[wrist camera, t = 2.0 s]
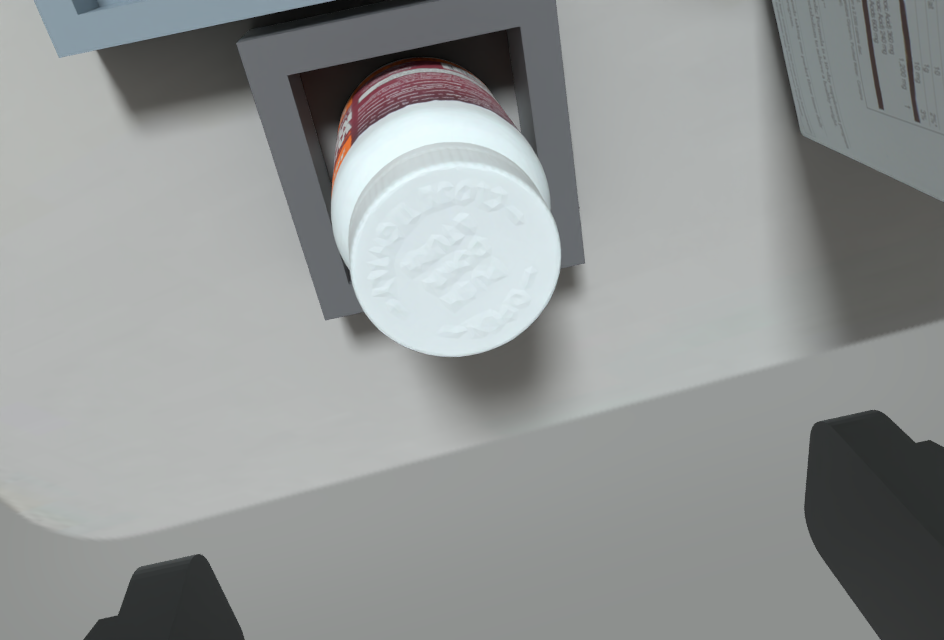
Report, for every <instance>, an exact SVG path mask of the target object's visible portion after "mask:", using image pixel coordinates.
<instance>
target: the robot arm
mask: <svg viewBox="0 0 944 640" xmlns="http://www.w3.org/2000/svg"><path fill="white" fill-rule="evenodd" d="M804 510H805V518H806V523H807V527H808V530H809V533H810V536H811V538H812V541H813V543H814V545H815V547H816V549H817V551H818V552H819V554H820V555H821V557H822V558H823V560H824V561H825V563H826V564H827V565H828V567H829V568H830V570H831V571H832V572H833V574H834V575H835V577H836V578H837V579H838V581H839V582H840V584H841V585H842V586H843V588H844V589H845V590H846V592H847V593H848V595H849V596H850V598H851V599H852V600H853V602H854V603H855V604H856V606H857V607H858V609H859V610H860V611H861V613H862V614H863V616H864V617H865V618H866V620H867V621H868V623H869V624H870V625H871V627H872V628H873V630H874V631H875V632H876V634H877V635H878V637H879V638H880V639H881V640H944V447H942V446H940V445H938V444H937V443H934V442H932V441H931V440H928V441H923V442H918V443H915V442H914V441H913V440H912V439H911V438H910V437H909V436H908V435H907V434H905V433H904V432H903V431H902V430H901V429H900V428H899V427H898V426H897V425H896V424H895V423H894V422H893V421H892V420H891V419H890V418H889V417H888V416H886V415H885V414H884V413H882V412H880V411H876V410H870V411H865V412H861V413H856V414H852V415H847V416H842V417H838V418H833V419H828V420H824V421H820V422H817V423H815V424H814V426H813V427H812V430H811V434H810V444H809V456H808V469H807V480H806V492H805V506H804ZM84 640H245V639H244V636H243V632H242V630H241V627H240V625H239V623H238V621H237V619H236V617H235V615H234V613H233V611H232V609H231V607H230V605H229V603H228V601H227V599H226V597H225V595H224V593H223V590H222V589H221V586H220V584H219V582H218V580H217V578H216V576H215V574H214V572H213V570H212V568H211V566H210V564H209V562H208V561H207V559H206V558H205V557H204V556H203V555H200V554H197V555H192V556H187V557H183V558H179V559H174V560H169V561H165V562H160V563H155V564H151V565H146V566H141V567H139V568H138V569H137V570H136V571H135V572H134V574H133V576H132V578H131V580H130V583H129V586H128V588H127V592H126V594H125V597H124V600H123V603H122V606H121V609H120V611H119V614H118V616H114V617H109V618H104V619H100V620H98V622H97V623H96V624H95V625H94V627H93V628H92V629H91V631H90V632H89V633H88V635H87V636H86V637H85V638H84Z"/></svg>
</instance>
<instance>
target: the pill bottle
mask: <svg viewBox="0 0 944 640" xmlns="http://www.w3.org/2000/svg"><path fill="white" fill-rule="evenodd" d="M331 221H332V228H333V234H334V238H335V241H336V244H337V247H338V250H339V252H340V254H341V256H342V258H343V260H344V262H345V264H346V266H347V267H348V269H349V270H350V275H351V281H352V285H353V288H354V291H355V294H356V297H357V299H358V301H359V303H360V305H361V307H362V309H363V311H364V312H365V314H366V315H367V317H368V318H369V319H370V320H371V322H372V323H373V324H374V325H375V326H376V327H377V328H378V329H379V330H380V331H381V332H382V333H383V334H385V335H386V336H388V337H389V338H390V339H392V340H393V341H395V342H396V343H398V344H400V345H402V346H404V347H406V348H409V349H411V350H414V351H417V352H420V353H423V354H428V355H433V356H441V357H462V356H469V355H475V354H479V353H483V352H486V351H489V350H492V349H495V348H497V347H499V346H502V345H504V344H505V343H507V342H509V341H511V340H512V339H514V338H515V337H517V336H518V335H520V334H521V333H522V332H523V331H524V330H526V329H527V328H528V327H529V326H530V325H531V324H532V323H533V322H534V321H535V320H536V319H537V318H538V316H539V315H540V314H541V312H542V311H543V310H544V308H545V307H546V305H547V304H548V302H549V300H550V298H551V296H552V294H553V292H554V290H555V287H556V284H557V281H558V277H559V274H560V266H561V242H560V238H559V232H558V229H557V225H556V222H555V220H554V218H553V215H552V213H551V204H550V192H549V187H548V183H547V179H546V176H545V173H544V170H543V168H542V165H541V163H540V161H539V159H538V157H537V155H536V154H535V152H534V150H533V149H532V147H531V145H530V144H529V142H528V141H527V139H526V138H525V137H524V136H523V135H522V134H521V133H520V131H519V130H518V129H517V128H516V126H515V125H514V124H513V122H512V121H511V120H510V118H509V117H508V115H507V114H506V113H505V111H504V110H503V109H502V107H501V105H500V104H499V103H498V102H497V100H496V99H495V97H494V96H493V94H492V93H491V92H490V91H489V89H488V88H487V87H486V86H485V85H484V84H483V83H482V82H481V81H480V80H479V79H478V78H477V77H476V76H475V75H474V74H472V73H471V72H469V71H468V70H467V69H465V68H463V67H461V66H459V65H457V64H455V63H453V62H450V61H447V60H443V59H439V58H433V57H410V58H403V59H400V60H396V61H393V62H391V63H388V64H386V65H384V66H382V67H380V68H378V69H377V70H375V71H373V72H372V73H371V74H370V75H368V76H367V77H366V78H365V79H364V80H363V81H362V82H361V83H360V84H359V85H358V86H357V88H356V89H355V90H354V92H353V93H352V94H351V96H350V98H349V99H348V101H347V103H346V105H345V107H344V110H343V112H342V115H341V119H340V123H339V128H338V134H337V141H336V149H335V159H334V170H333V179H332V193H331Z"/></svg>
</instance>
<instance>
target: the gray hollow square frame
mask: <svg viewBox="0 0 944 640" xmlns="http://www.w3.org/2000/svg"><path fill="white" fill-rule="evenodd" d="M505 29H506V30H507V37H508V44H509V51H510V58H511V65H512V72H513V78H514V85H515V92H516V99H517V106H518V113H519V120H520V127H521V133H522V135H523V136H524V137H525V138H526V139H527V141H528V142H529V144H530V145H531V147H532V149H533V150H534V152H535V154H536V155H537V157H538V159H539V161H540V163H541V165H542V168H543V170H544V173H545V176H546V179H547V183H548V187H549V192H550V204H551V213H552V215H553V218H554V220H555V222H556V225H557V229H558V232H559V238H560V242H561V266H560V269H561V268H566V267H570V266H575V265H579V264H584V263H585V258H584V249H583V240H582V231H581V222H580V213H579V204H578V195H577V186H576V178H575V169H574V160H573V151H572V142H571V133H570V124H569V115H568V106H567V97H566V88H565V79H564V70H563V61H562V52H561V43H560V34H559V25H558V16H557V7H556V0H389V1H384V2H380V3H375V4H370V5H365V6H360V7H356V8H351V9H346V10H341V11H337V12H332V13H327V14H322V15H317V16H313V17H308V18H303V19H298V20H294V21H289V22H284V23H279V24H274V25H270V26H265V27H260V28H255V29H251V30H249V31H248V32H247V33H246V34H245V35H244V36H243V37H242V38H241V39H240V40H239V41H238V42H237V43H236V45H237V48H238V51H239V54H240V57H241V60H242V63H243V66H244V69H245V73H246V76H247V79H248V82H249V85H250V88H251V91H252V94H253V97H254V100H255V104H256V107H257V110H258V113H259V116H260V119H261V122H262V125H263V128H264V132H265V135H266V138H267V141H268V144H269V147H270V150H271V153H272V156H273V159H274V163H275V166H276V169H277V172H278V175H279V178H280V181H281V184H282V187H283V191H284V194H285V197H286V200H287V203H288V206H289V209H290V212H291V215H292V219H293V222H294V225H295V228H296V231H297V234H298V237H299V240H300V243H301V246H302V250H303V253H304V256H305V259H306V262H307V265H308V268H309V271H310V274H311V278H312V281H313V284H314V287H315V290H316V293H317V296H318V299H319V302H320V305H321V309H322V312H323V315H324V318H325V320H329V319H334V318H339V317H343V316H348V315H352V314H357V313H361V312H364V311H363V309H362V307H361V305H360V303H359V301H358V299H357V297H356V294H355V291H354V288H353V285H352V281H351V275H350V270H349V269H348V267H347V266H346V264H345V262H344V260H343V258H342V256H341V254H340V252H339V250H338V247H337V244H336V241H335V238H334V234H333V228H332V221H331V193H332V186H331V183H330V179H329V176H328V172H327V169H326V165H325V162H324V158H323V155H322V151H321V148H320V144H319V141H318V137H317V134H316V130H315V127H314V123H313V120H312V117H311V113H310V110H309V106H308V103H307V99H306V96H305V92H304V89H303V85H302V82H301V78H300V75H299V73H301V72H306V71H311V70H315V69H320V68H325V67H330V66H334V65H339V64H344V63H349V62H353V61H358V60H363V59H368V58H372V57H377V56H382V55H386V54H391V53H396V52H401V51H405V50H410V49H415V48H420V47H424V46H429V45H434V44H439V43H443V42H448V41H453V40H458V39H462V38H467V37H472V36H476V35H481V34H486V33H491V32H495V31H500V30H505Z"/></svg>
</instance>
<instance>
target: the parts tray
mask: <svg viewBox="0 0 944 640" xmlns="http://www.w3.org/2000/svg"><path fill="white" fill-rule="evenodd" d="M329 1H334V0H34V2H35V4H36V6H37V9H38V11H39V13H40V15H41V18H42V20H43V22H44V25H45V27H46V29H47V31H48V34H49V36H50V38H51V40H52V43H53V45H54V47H55V50H56V52H57V54H58V56H59V58H61V57H65V56H70V55H75V54H80V53H85V52H89V51H94V50H99V49H104V48H108V47H113V46H118V45H123V44H128V43H132V42H137V41H142V40H147V39H152V38H156V37H161V36H166V35H171V34H175V33H180V32H185V31H190V30H195V29H199V28H204V27H209V26H214V25H219V24H223V23H228V22H233V21H238V20H243V19H247V18H252V17H257V16H262V15H266V14H271V13H276V12H281V11H286V10H290V9H295V8H300V7H305V6H310V5H314V4H319V3H324V2H329Z"/></svg>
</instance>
